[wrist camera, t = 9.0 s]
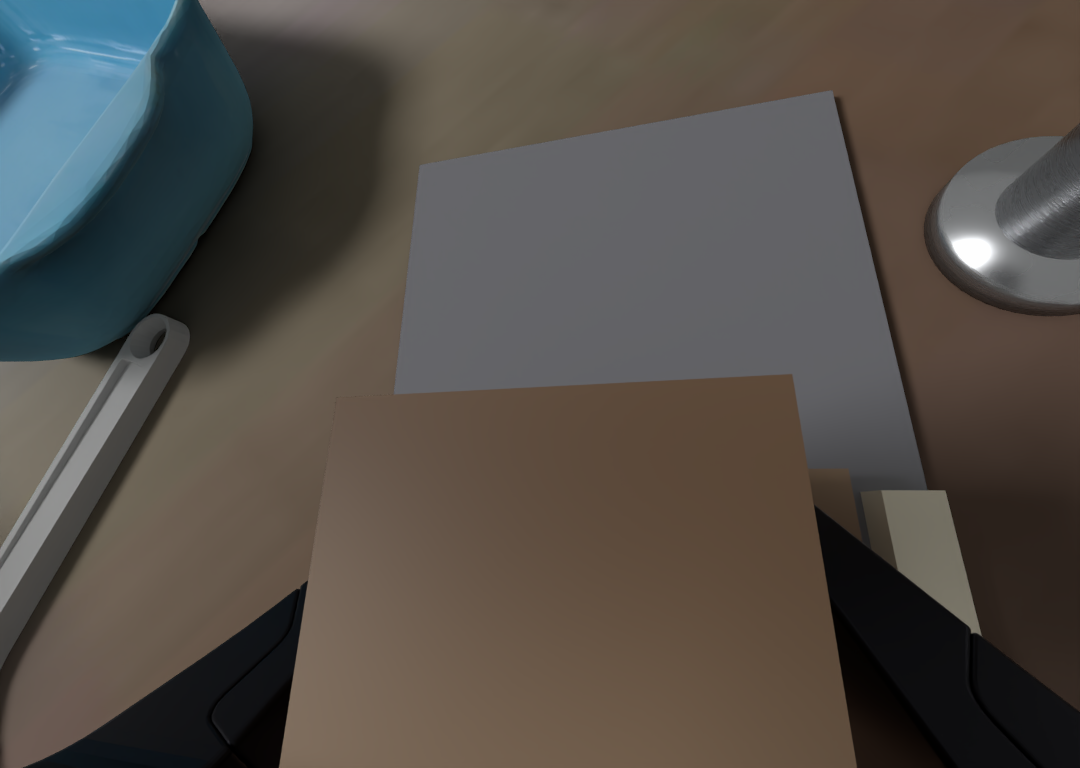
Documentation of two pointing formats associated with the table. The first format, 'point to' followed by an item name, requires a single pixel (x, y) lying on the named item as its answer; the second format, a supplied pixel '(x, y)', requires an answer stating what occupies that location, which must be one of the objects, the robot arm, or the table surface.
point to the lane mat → (682, 292)
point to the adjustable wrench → (84, 469)
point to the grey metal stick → (1013, 226)
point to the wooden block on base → (572, 583)
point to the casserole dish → (107, 163)
